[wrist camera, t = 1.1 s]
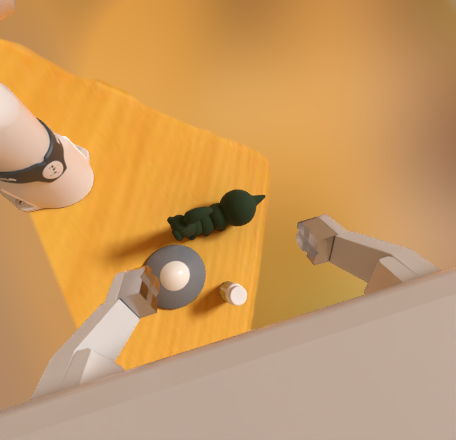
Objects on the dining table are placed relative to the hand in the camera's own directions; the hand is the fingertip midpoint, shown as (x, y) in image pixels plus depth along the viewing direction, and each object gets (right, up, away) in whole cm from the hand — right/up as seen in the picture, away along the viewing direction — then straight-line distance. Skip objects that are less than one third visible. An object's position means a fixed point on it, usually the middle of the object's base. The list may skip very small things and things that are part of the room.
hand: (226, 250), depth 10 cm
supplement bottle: (0, -17, +38) cm, 42 cm away
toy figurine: (-4, +2, +42) cm, 42 cm away
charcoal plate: (-13, -12, +35) cm, 40 cm away
